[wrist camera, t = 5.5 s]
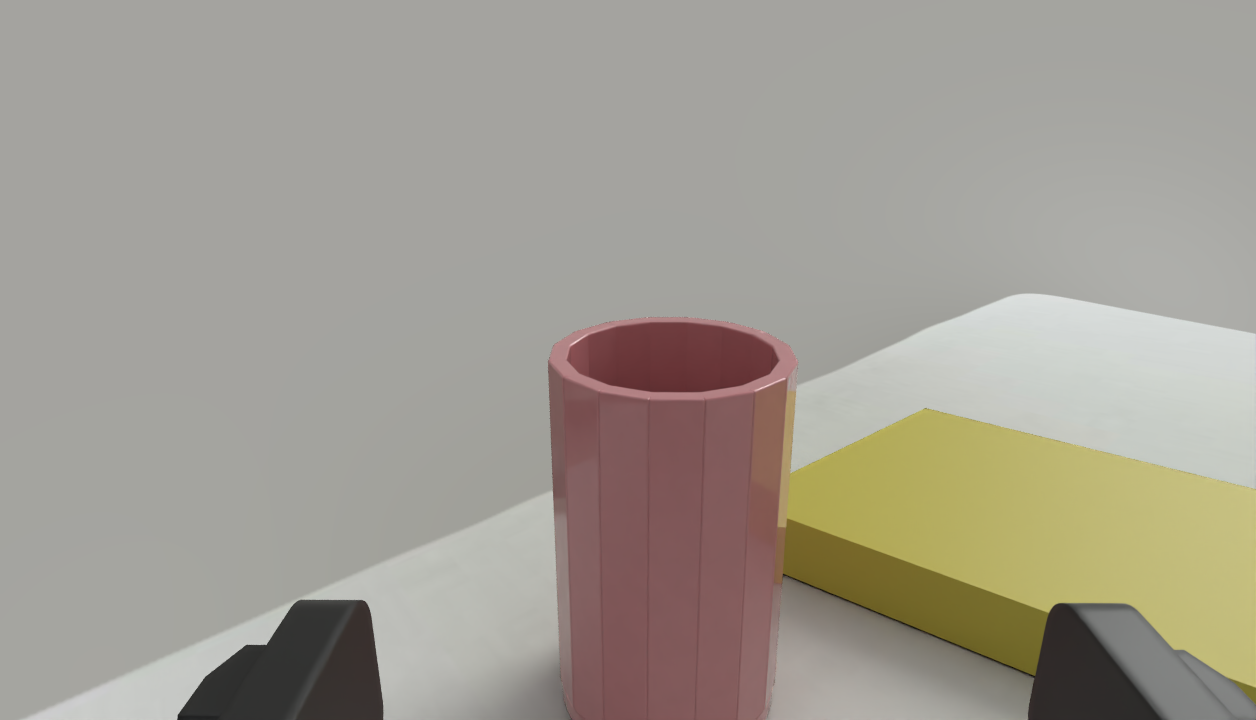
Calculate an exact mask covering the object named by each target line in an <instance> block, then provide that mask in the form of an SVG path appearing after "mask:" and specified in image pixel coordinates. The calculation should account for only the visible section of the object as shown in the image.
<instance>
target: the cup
mask: <svg viewBox="0 0 1256 720" xmlns="http://www.w3.org/2000/svg"><path fill="white" fill-rule="evenodd" d="M797 372H798V360H797V358H796V357H795V355H794V353H793V351H792V349H791V347H790V346H789V345H788V344H786V343H784V342H783V341H781V340H779V339H777V338H775V337H773V336H772V335H770V334H768V333H766V332H764V331H760V330H756V329H753V328H749V327H746V326H741V325H738V324H735V323H729V322H724V321H716V320H708V319H699V318H688V317H648V318H646V317H645V318H637V319H629V320H620V321H612V322H606V323H603V324H599V325H596V326H592V327H589V328H585V329H582V330H578V331H576V332H573V333H572V334H570V335H568V336H567V337H565V338H564V339H562V340H560V341H559V342H557V343H556V344H554V345H553V348H552V351H551V354H550V357H549V360H548V373H549V398H550V424H551V448H552V449H551V450H552V475H553V500H554V526H555V551H556V577H557V602H558V627H559V653H560V678H561V682H562V690H563V697H564V702H565V705H566V708H567V711H568V713H569V715H570V717H571V718H572V720H766V717H767V715H768V713H769V710H770V706H771V700H772V688H773V686H774V683H775V672H776V658H777V645H778V631H779V617H780V604H781V590H782V577H783V563H784V549H785V536H786V522H787V508H788V495H789V481H790V468H791V454H792V440H793V427H794V413H795V400H796V386H797Z"/></svg>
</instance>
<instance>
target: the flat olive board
mask: <svg viewBox="0 0 1256 720" xmlns="http://www.w3.org/2000/svg"><path fill="white" fill-rule="evenodd" d="M783 574H785V575H788V576H790V577H793V578H795V579H798V580H800V581H803V582H805V583H807V584H810V585H812V586H815V587H817V588H820V589H822V590H825V591H827V592H830V593H832V594H834V595H837V596H839V597H842V598H844V599H847V600H849V601H852V602H854V603H857V604H859V605H862V606H864V607H866V608H869V609H871V610H874V611H876V612H879V613H881V614H884V615H886V616H889V617H891V618H893V619H896V620H898V621H901V622H903V623H906V624H908V625H911V626H913V627H916V628H918V629H920V630H923V631H925V632H928V633H930V634H933V635H935V636H938V637H940V638H943V639H945V640H947V641H950V642H952V643H955V644H957V645H960V646H962V647H965V648H967V649H970V650H972V651H974V652H977V653H979V654H982V655H984V656H987V657H989V658H992V659H994V660H997V661H999V662H1001V663H1004V664H1006V665H1009V666H1011V667H1014V668H1016V669H1019V670H1021V671H1024V672H1026V673H1029V674H1031V675H1033V676H1035V674H1036V669H1037V665H1038V660H1039V655H1040V650H1041V645H1042V640H1043V635H1044V630H1045V626H1046V621H1047V617H1048V614H1049V612H1050V610H1051V609H1052V607H1053V606H1054V605H1056V604H1058V603H1126V604H1128V605H1131V606H1132V607H1134V608H1135V609H1136V610H1138V611H1139V612H1140V613H1141V614H1142V616H1143V617H1144V618H1145V619H1146V620H1147V621H1148V622H1149V623H1150V624H1151V625H1152V626H1153V628H1154V629H1155V630H1156V631H1157V632H1158V633H1159V634H1160V635H1161V636H1162V637H1163V638H1164V640H1165V641H1166V642H1167V643H1168V644H1169V645H1170V646H1171V647H1172V648H1173V649H1174V650H1185V651H1187V652H1188V653H1190V654H1191V655H1193V656H1195V657H1196V658H1198V659H1199V660H1201V661H1202V662H1204V663H1205V664H1207V665H1208V666H1210V667H1211V668H1213V669H1214V670H1216V671H1217V672H1219V673H1220V674H1222V675H1223V676H1225V677H1227V678H1228V679H1230V680H1231V681H1233V682H1234V683H1235V684H1236V685H1237V686H1238V687H1239V688H1240V689H1241V690H1242V691H1243V692H1244V693H1245V694H1246V695H1247V696H1248V697H1249V698H1250V699H1251V700H1252V701H1253V702H1254V703H1255V704H1256V489H1253V488H1249V487H1245V486H1240V485H1236V484H1232V483H1228V482H1224V481H1220V480H1216V479H1212V478H1208V477H1204V476H1200V475H1196V474H1192V473H1188V472H1183V471H1179V470H1175V469H1171V468H1167V467H1163V466H1159V465H1155V464H1151V463H1147V462H1143V461H1139V460H1135V459H1130V458H1126V457H1122V456H1118V455H1114V454H1110V453H1106V452H1102V451H1098V450H1094V449H1090V448H1086V447H1082V446H1078V445H1073V444H1069V443H1065V442H1061V441H1057V440H1053V439H1049V438H1045V437H1041V436H1037V435H1033V434H1029V433H1025V432H1020V431H1016V430H1012V429H1008V428H1004V427H1000V426H996V425H992V424H988V423H984V422H980V421H976V420H972V419H968V418H963V417H959V416H955V415H951V414H947V413H943V412H939V411H935V410H931V409H927V408H925V409H923V410H921V411H919V412H917V413H915V414H913V415H910V416H908V417H906V418H904V419H902V420H900V421H898V422H896V423H894V424H892V425H890V426H888V427H886V428H884V429H881V430H879V431H877V432H875V433H873V434H871V435H869V436H867V437H865V438H863V439H861V440H859V441H857V442H855V443H852V444H850V445H848V446H846V447H844V448H842V449H840V450H838V451H836V452H834V453H832V454H830V455H828V456H826V457H824V458H821V459H819V460H817V461H815V462H813V463H811V464H809V465H807V466H805V467H803V468H801V469H799V470H797V471H795V472H792V473H790V481H789V495H788V508H787V522H786V536H785V549H784V563H783Z"/></svg>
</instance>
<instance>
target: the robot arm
mask: <svg viewBox="0 0 1256 720" xmlns="http://www.w3.org/2000/svg"><path fill="white" fill-rule="evenodd" d="M177 720H383V700H382V692H381V685H380V678H379V670H378V663H377V655H376V648H375V641H374V633H373V626H372V618H371V613H370V609H369V607H368V605H367V603H366V602H365V601H363V600H299V601H297V602H296V603H295V604H294V605H293V606H292V607H291V608H290V610H289V611H288V613H287V614H286V616H285V618H284V619H283V621H282V622H281V624H280V625H279V627H278V628H277V630H276V631H275V633H274V634H273V636H272V637H271V639H270V640H269V642H268V644H267V645H246V646H244V647H243V648H242V649H241V650H239V651H238V652H237V653H235V654H234V655H233V656H232V657H230V658H229V659H228V660H226V661H225V662H224V663H223V664H221V665H220V666H219V667H217V668H216V669H215V670H214V671H212V672H211V673H210V674H208V675H207V676H206V677H205V678H204V679H203V681H202V682H201V684H200V685H199V686H198V688H197V689H196V691H195V692H194V693H193V695H192V696H191V698H190V699H189V700H188V702H187V703H186V704H185V706H184V707H183V709H182V710H181V711H180V713H179V714H178V719H177ZM1028 720H1256V704H1255V703H1254V702H1253V701H1252V700H1251V699H1250V698H1249V697H1248V696H1247V695H1246V694H1245V693H1244V692H1243V691H1242V690H1241V689H1240V688H1239V687H1238V686H1237V685H1236V684H1235V683H1234V682H1233V681H1231V680H1230V679H1228V678H1227V677H1225V676H1223V675H1222V674H1220V673H1219V672H1217V671H1216V670H1214V669H1213V668H1211V667H1210V666H1208V665H1207V664H1205V663H1204V662H1202V661H1201V660H1199V659H1198V658H1196V657H1195V656H1193V655H1191V654H1190V653H1188V652H1187V651H1185V650H1174V649H1173V648H1172V647H1171V646H1170V645H1169V644H1168V643H1167V642H1166V641H1165V640H1164V638H1163V637H1162V636H1161V635H1160V634H1159V633H1158V632H1157V631H1156V630H1155V629H1154V628H1153V626H1152V625H1151V624H1150V623H1149V622H1148V621H1147V620H1146V619H1145V618H1144V617H1143V616H1142V614H1141V613H1140V612H1139V611H1138V610H1136V609H1135V608H1134V607H1132V606H1131V605H1128V604H1126V603H1058V604H1056V605H1054V606H1053V607H1052V609H1051V610H1050V612H1049V614H1048V617H1047V621H1046V626H1045V630H1044V635H1043V640H1042V645H1041V650H1040V655H1039V660H1038V665H1037V669H1036V674H1035V679H1034V684H1033V689H1032V694H1031V699H1030V704H1029V712H1028Z"/></svg>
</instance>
